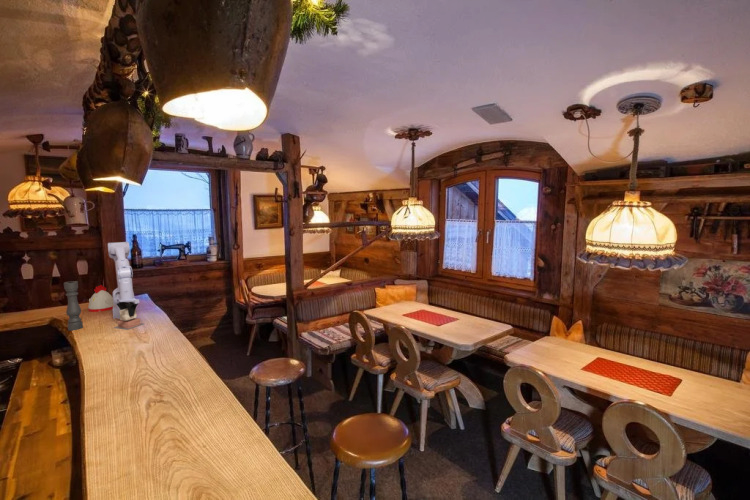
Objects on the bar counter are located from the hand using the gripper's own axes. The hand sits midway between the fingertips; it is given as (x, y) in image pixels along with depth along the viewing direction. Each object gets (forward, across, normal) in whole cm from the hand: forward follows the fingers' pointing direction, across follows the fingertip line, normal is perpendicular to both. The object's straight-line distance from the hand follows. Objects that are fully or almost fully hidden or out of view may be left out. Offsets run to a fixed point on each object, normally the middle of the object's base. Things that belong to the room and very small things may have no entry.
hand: (128, 315), depth 196 cm
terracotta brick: (+5, 0, 0) cm, 5 cm away
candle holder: (+7, -27, -9) cm, 29 cm away
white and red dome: (+7, -52, +23) cm, 57 cm away
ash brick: (+2, 0, 0) cm, 2 cm away
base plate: (+7, 0, 0) cm, 7 cm away
